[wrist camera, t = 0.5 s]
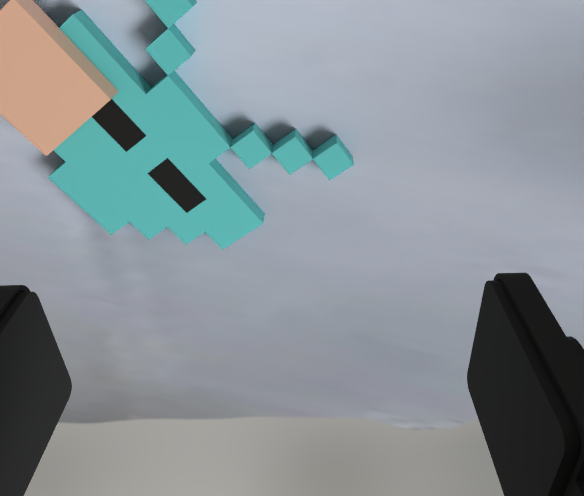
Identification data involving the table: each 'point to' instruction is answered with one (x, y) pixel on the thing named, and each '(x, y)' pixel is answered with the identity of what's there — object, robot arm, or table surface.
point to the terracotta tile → (45, 77)
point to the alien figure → (167, 146)
